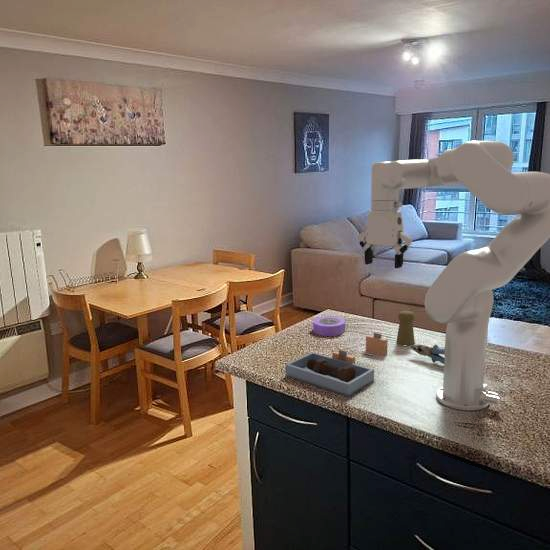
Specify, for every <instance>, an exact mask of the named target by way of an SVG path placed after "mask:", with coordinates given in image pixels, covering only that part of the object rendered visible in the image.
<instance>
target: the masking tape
mask: <svg viewBox="0 0 550 550" xmlns="http://www.w3.org/2000/svg"><path fill="white" fill-rule="evenodd" d="M312 332H313V333H314V334H316V335H319V336H327V337H330V336H331V337H333V336H340V335H342V334H344V333H345V332H346V320H345V319H344V318H342V317H338V316H320V317H316V318H314V319H313V320H312Z"/></svg>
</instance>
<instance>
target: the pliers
mask: <svg viewBox="0 0 550 550" xmlns="http://www.w3.org/2000/svg"><path fill="white" fill-rule="evenodd" d="M409 348H410V349H411V350H412V351H414V352H415V353H417V354H418V355H420V356H424V357H426V356H427V357H428V358H431V362H432V363H436V362H439V363H440V364H443V365H444V358H445V348H440V347H439V346H438V344H433V345H432V346H431V347H430V346H428V345H425V344H414V345H411V346H409ZM442 355H444V356H442Z"/></svg>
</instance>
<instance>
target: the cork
mask: <svg viewBox="0 0 550 550" xmlns="http://www.w3.org/2000/svg"><path fill="white" fill-rule="evenodd" d="M397 317H398V320H399V322H398V323H399V324H398V330H397V337H396V341H395V343H396V342H397V343H398V344H397V343H396V344H397V345H399V344H400V345H399V346H402V345H406V346H405V347H411V345H416V342H415V333H414V323H413V321H414V320H415V313H414V312H413V311H411V310H401V311H400V312H399V313H398V316H397Z"/></svg>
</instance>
